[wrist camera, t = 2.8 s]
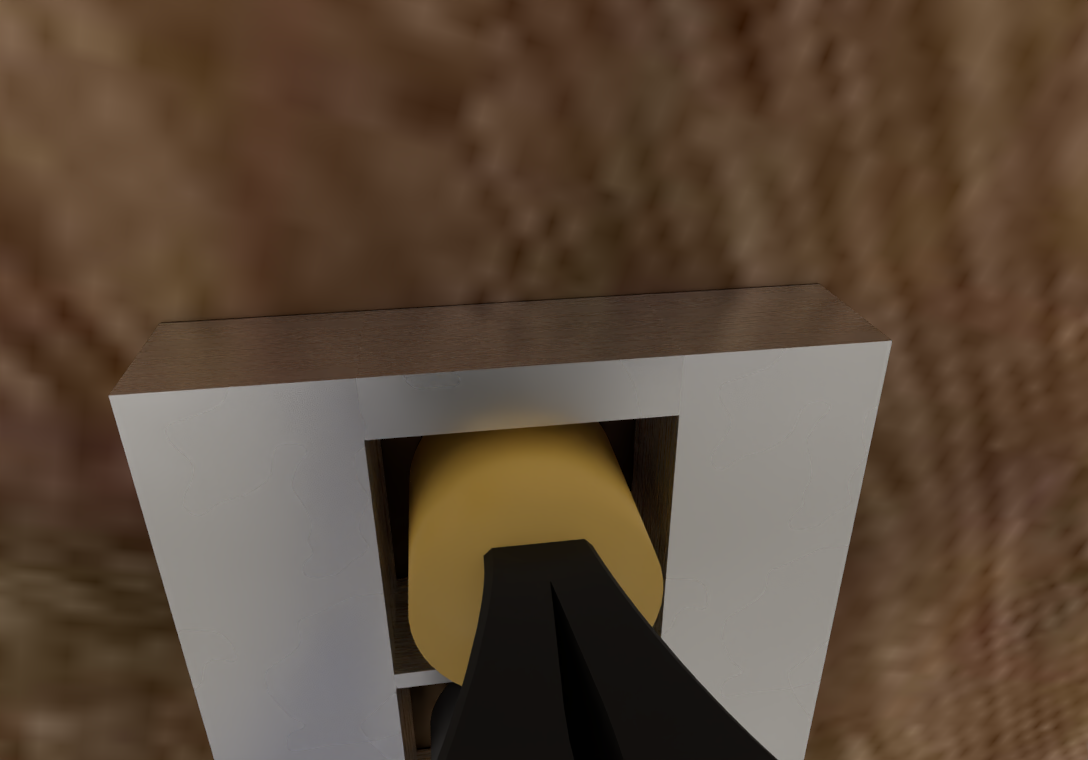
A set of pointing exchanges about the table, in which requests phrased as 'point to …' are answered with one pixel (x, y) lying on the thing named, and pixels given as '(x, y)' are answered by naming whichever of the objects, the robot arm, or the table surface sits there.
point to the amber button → (513, 523)
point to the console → (479, 405)
